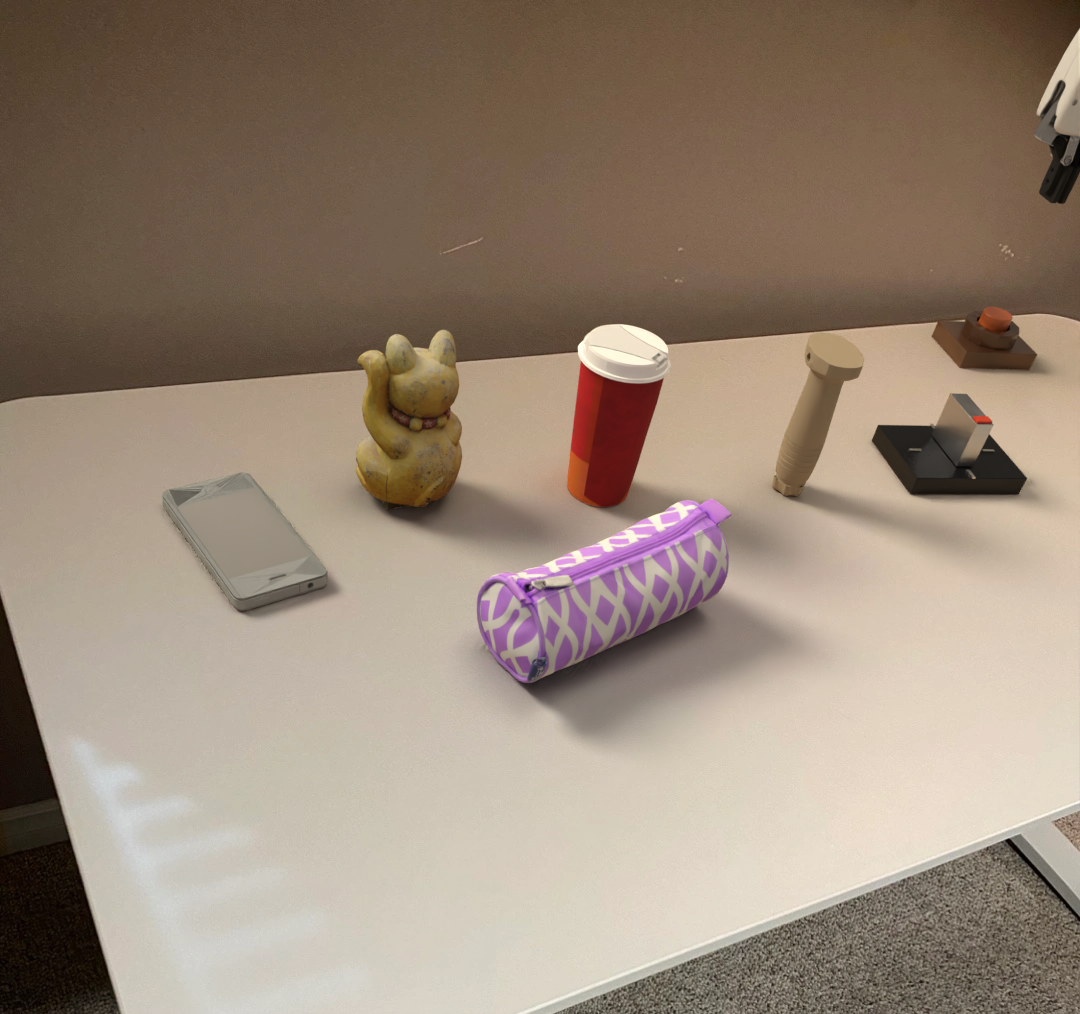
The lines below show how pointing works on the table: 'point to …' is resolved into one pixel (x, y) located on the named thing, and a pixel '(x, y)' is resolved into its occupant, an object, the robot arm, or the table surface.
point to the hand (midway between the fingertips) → (1051, 198)
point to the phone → (244, 540)
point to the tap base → (944, 464)
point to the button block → (983, 345)
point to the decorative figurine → (410, 422)
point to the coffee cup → (613, 410)
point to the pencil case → (604, 591)
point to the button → (995, 319)
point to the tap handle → (962, 429)
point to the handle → (815, 408)
